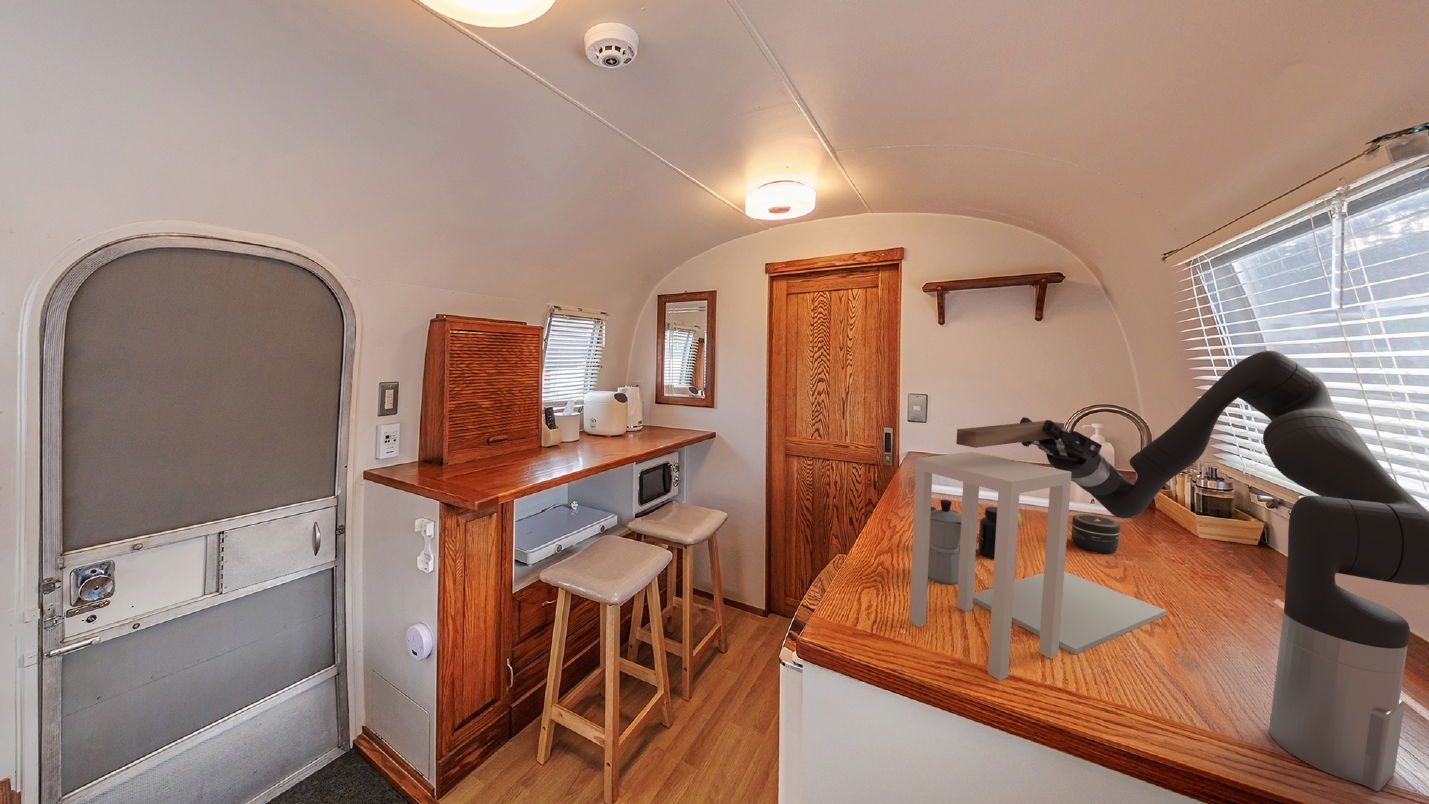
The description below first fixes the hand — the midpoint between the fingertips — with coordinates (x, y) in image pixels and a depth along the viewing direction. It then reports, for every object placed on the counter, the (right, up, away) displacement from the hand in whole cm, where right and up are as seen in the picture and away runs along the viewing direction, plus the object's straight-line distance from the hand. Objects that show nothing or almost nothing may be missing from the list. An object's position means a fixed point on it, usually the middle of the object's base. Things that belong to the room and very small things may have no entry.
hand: (1034, 423), depth 85 cm
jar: (+43, -35, +39) cm, 68 cm away
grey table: (-11, -39, -1) cm, 40 cm away
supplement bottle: (+13, -36, +35) cm, 51 cm away
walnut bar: (-6, -3, -2) cm, 7 cm away
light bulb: (+22, -35, +43) cm, 59 cm away
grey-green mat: (+12, -38, +9) cm, 41 cm away
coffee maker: (-6, -37, +24) cm, 44 cm away
